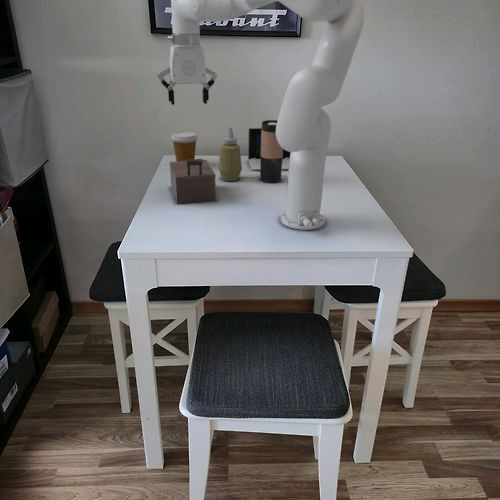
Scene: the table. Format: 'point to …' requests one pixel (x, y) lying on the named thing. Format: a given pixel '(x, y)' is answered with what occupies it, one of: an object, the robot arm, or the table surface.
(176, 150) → the disposable coffee cup
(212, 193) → the box
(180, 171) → the lid
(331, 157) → the table surface
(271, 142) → the travel mug
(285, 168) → the laptop
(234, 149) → the squeeze bottle
